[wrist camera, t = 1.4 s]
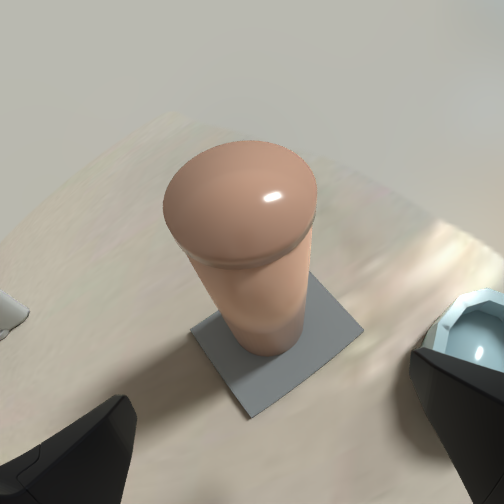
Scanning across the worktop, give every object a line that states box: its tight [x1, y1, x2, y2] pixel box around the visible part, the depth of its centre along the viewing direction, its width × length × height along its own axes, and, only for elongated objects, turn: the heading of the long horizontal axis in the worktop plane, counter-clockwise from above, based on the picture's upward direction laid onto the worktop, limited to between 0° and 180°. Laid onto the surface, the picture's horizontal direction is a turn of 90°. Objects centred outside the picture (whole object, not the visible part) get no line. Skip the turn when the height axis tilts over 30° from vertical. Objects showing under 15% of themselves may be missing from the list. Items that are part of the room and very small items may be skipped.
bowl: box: [421, 288, 504, 372], centre depth 17 cm, size 11×11×3 cm
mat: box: [190, 271, 364, 418], centre depth 22 cm, size 10×8×1 cm
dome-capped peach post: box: [163, 141, 317, 357], centre depth 16 cm, size 5×5×14 cm
